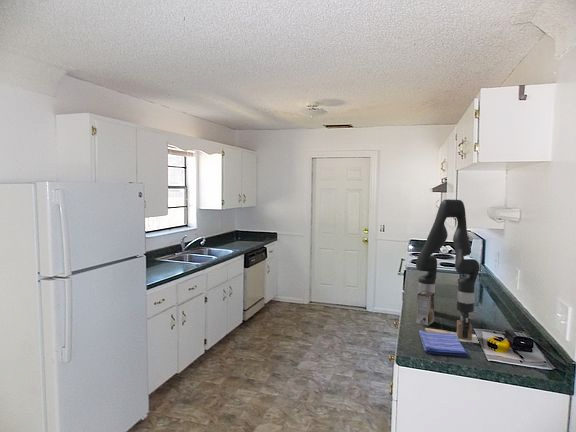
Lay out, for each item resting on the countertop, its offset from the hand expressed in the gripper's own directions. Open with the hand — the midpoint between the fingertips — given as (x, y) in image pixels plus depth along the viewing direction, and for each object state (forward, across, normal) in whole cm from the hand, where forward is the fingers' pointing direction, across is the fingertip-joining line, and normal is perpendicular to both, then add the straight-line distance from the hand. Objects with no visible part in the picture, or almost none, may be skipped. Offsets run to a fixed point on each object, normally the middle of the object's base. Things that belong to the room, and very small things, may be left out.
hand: (464, 335), depth 186 cm
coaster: (+1, -1, -12) cm, 12 cm away
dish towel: (+1, +15, -11) cm, 19 cm away
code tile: (+1, 0, 0) cm, 1 cm away
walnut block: (+1, 0, 0) cm, 1 cm away
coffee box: (+1, -17, -17) cm, 24 cm away
